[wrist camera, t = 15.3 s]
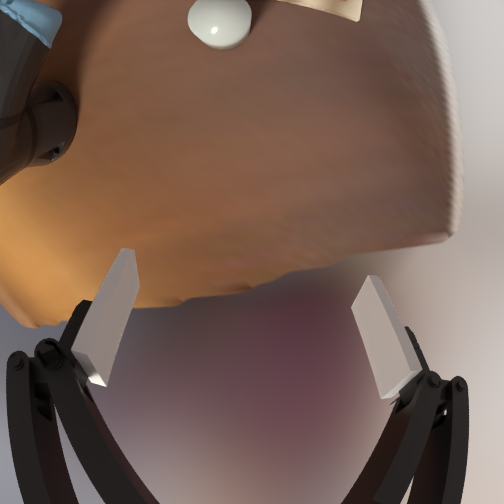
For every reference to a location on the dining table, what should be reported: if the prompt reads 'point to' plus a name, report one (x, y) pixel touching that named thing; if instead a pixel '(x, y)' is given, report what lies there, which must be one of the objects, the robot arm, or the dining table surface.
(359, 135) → the dining table surface
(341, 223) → the dining table surface
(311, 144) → the dining table surface
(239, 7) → the white rounded cylinder
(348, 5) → the wooden square frame
